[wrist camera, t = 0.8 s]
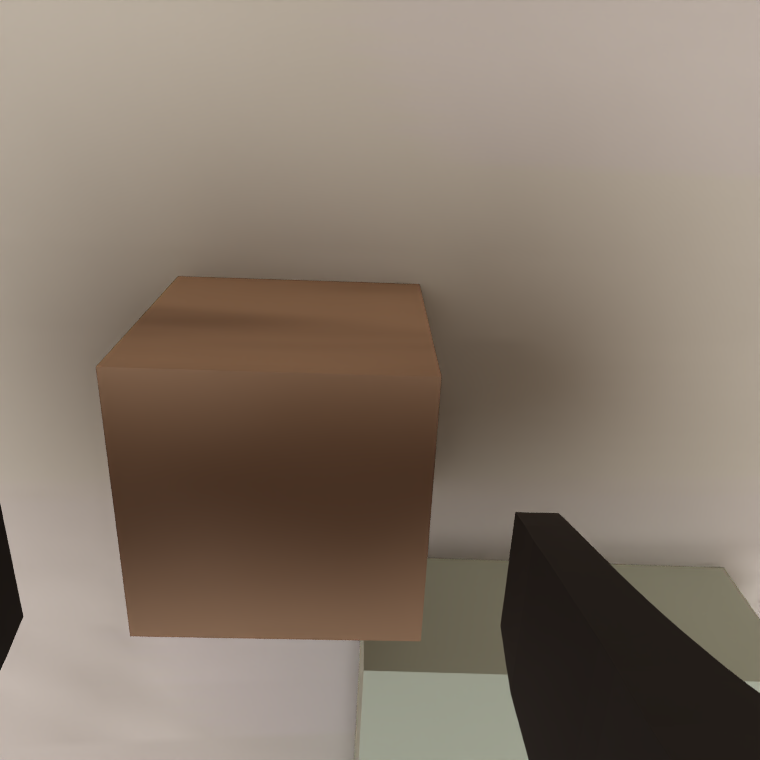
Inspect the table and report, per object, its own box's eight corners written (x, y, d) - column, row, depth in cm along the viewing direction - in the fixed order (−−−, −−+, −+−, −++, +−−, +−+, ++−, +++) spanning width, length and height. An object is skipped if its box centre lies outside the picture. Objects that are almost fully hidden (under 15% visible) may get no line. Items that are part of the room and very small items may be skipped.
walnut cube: (406, 487, 17) (420, 641, 13) (194, 482, 17) (130, 636, 12) (419, 283, 15) (440, 377, 11) (179, 275, 15) (95, 366, 10)
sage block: (647, 801, 22) (703, 949, 18) (351, 795, 22) (348, 943, 18) (717, 559, 18) (805, 683, 15) (364, 548, 18) (363, 671, 14)
